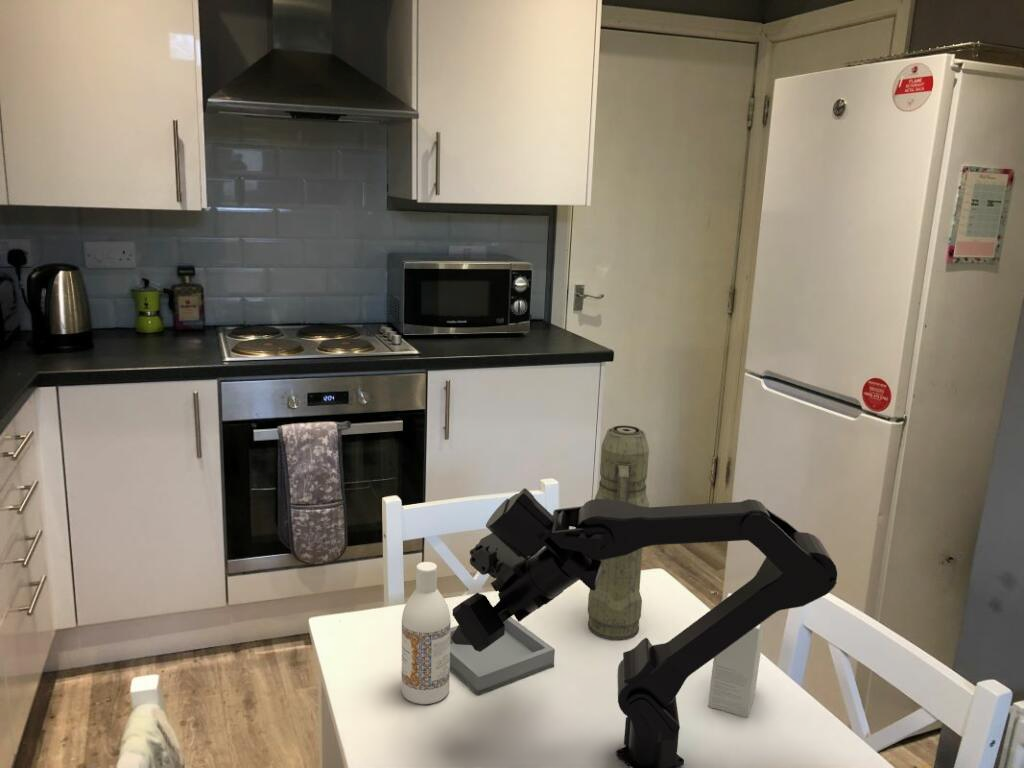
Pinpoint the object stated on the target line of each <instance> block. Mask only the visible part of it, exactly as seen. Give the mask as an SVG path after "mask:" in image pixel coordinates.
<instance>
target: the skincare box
mask: <svg viewBox="0 0 1024 768" xmlns="http://www.w3.org/2000/svg"><path fill="white" fill-rule="evenodd" d="M731 594H733V593H731V592H728V594H727V596H726V598H727V597H729V596H730V595H731ZM765 623H766V620H765V621H764V622H762V623H761V624H759V625H758V626H757V627H755V628H754V629H753V630H751V631H750V632H748V633H747V634H746V635H744V636H743V637H742V638H740V639H739V640H738V641H736V642H735V643H733V644H732V645H731V646H729V647H728V648H727V649H725V650H724V651H722V652H721V653H720V654H718V655H717V656H716V657H714V658H713V661H712V662H713V663H712V669H711V677H710V685H709V686H710V687H709V692H708V702H707V706H708V707H709V708H713V709H715V710H719V711H723V712H726V713H729V714H732V715H736V716H740V717H744V718H749V714H750V713H751V712H750V711H751V708H752V705H753V701H754V696H755V690H756V689H757V681H758V676H759V675H758V674H759V669H760V668H759V666H760V661H761V653H762V645H763V640H764V639H763V637H764V632H765V631H764V630H765Z"/></svg>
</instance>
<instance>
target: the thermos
mask: <svg viewBox="0 0 1024 768" xmlns="http://www.w3.org/2000/svg"><path fill="white" fill-rule="evenodd" d="M600 448H601V450H600V466H599V467H600V468H599V475H600V480H599V482H598V483H599V484H598V490H597V493H596V495H595V496H594V499H607V500H617V501H625V502H628V503H631V504H634V505H638V506H643V507H650V503H649V499H648V495H647V484H646V479H647V477H648V468H649V467H648V466H649V455H650V449H649V444H648V440H647V435H646V432H645V431H644V430H642V429H640V428H639V427H637V426H632V425H623V424H622V425H615V426H613V427H610V428H608V429H607V430H606V433H605V436H604V438H603V441H602V443H601V447H600ZM642 559H643V548H641V549H639V550H637V551H635V552H633V553H631V554H629V555H625V556H621V557H616V558H612V559H607V560H601V562H602V564H601V568H602V574H601V577H600V580H599V582H598V585H597V587H596V590H594V591H592V590H591V589H590V588H589V593H588V597H587V601H588V602H587V614H588V620H587V627H588V630H589V632H590V633H591V634H593V635H595V636H596V637H599V638H601V639H604V640H607V641H617V642H618V641H619V642H620V641H628V640H630V639H633V638H634V637H636V636H637V635H638V634H639V631H640V619H641V618H642V607H643V600H642V595H641V591H640V586H641V575H642Z"/></svg>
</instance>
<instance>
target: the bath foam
mask: <svg viewBox="0 0 1024 768" xmlns="http://www.w3.org/2000/svg"><path fill="white" fill-rule="evenodd" d="M415 571H416V572H415V574H416V575H415V578H416V581H415V586H416V587H415V590H414V591H413V592H412V594H411V595H410V597H409V598H408V600H407V601H406V603H405V606H404V608H403V611H402V616H401V692H402V694H403V697H404V698H405V699H406V700H408V701H410V702H411V703H415V704H419V705H431V704H435V703H437V702H440V701H442V700H443V699H444V698H446V696H447V695H448V693H449V691H450V677H451V675H450V673H451V670H450V628H451V612H450V608H449V606H448V603H447V601H446V599H445V598H444V596H443V594H441V592H440V591H439V590H438V586H437V585H438V565H437V564H436V563H435V562H432V561H421V562H420V563H418V564H417V565H416V566H415Z"/></svg>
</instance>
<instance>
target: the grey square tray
mask: <svg viewBox="0 0 1024 768" xmlns="http://www.w3.org/2000/svg"><path fill="white" fill-rule="evenodd" d="M503 623H504V625H505V634H504V635H503V636H502V637H501V638H499V639H498V640H496V641H495V642H494V643H492V644H491V645H490V646H488V647H487V648H485V649H484V650H482V651H481V652H479V651H476V650H475V649H474V648H473V646H472V645H459V644H455V643H454V642H453V640H452V639H451V636H452V635H453V633H454V632H455V630H456V628H457V627H458V625H455V626H452V627H450V672H453V674H454V675H456V676H457V677H458V678H459V680H461V681H462V682H463V683H464V684H466V686H468V688H469V689H471V690H472V691H473V692H474V693H476V695H477V696H481V695H484V694H486V693H488V692H491V691H493V690H496V689H500V688H501V687H504V686H507V685H510V684H512V683H514V682H517V681H520V680H523V679H525V678H528V677H530V676H533V675H535V674H538V673H541V672H543V671H545V670H548V669H551V668H554V667H555V657H556V656H555V652H556V651H555V650H556V648H554V647H553V646H551V645H550V644H548V642H546V641H545V640H543V639H542V638H541V637H539V636H537V635H536V634H535V633H534V632H532V631H531V630H530V629H528V628H527V627H526V626H524V625H523V624H521V623H520V621H519V622H518V620H517V619H516V618H515V619H514V618H513V616H511V617H510V618H508V619H507V620H506V621H504V622H503Z"/></svg>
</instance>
